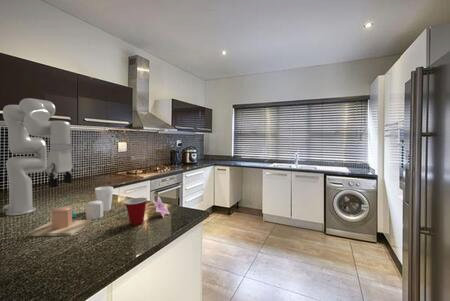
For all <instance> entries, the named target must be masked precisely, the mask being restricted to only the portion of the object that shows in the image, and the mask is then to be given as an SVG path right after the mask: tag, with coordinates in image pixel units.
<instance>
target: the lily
mask: <svg viewBox="0 0 450 301" xmlns="http://www.w3.org/2000/svg"><path fill="white" fill-rule="evenodd" d="M152 202H153V204H154V205H155V207H156V208H155V212H154V213H153V214H152V216H155V214H156V213H160V214H161V216H162V218H163V219H164V218H165V214H167V215H170V212H169V210H168V208H166V203H163V202H162V199H161V197H160V196H157V201H156V200H152Z"/></svg>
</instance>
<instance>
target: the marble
mask: <svg viewBox="0 0 450 301" xmlns="http://www.w3.org/2000/svg"><path fill="white" fill-rule="evenodd" d="M75 217H77V212H76V211H73V210H72V219H73V218H75Z"/></svg>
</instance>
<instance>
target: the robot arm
mask: <svg viewBox="0 0 450 301" xmlns="http://www.w3.org/2000/svg"><path fill="white" fill-rule="evenodd" d="M55 113H56V106H55V104H54V103H53V102H52V101H49V100H46V99H45V100H44V99H37V98H30V97H29V98H22V99H21V100H20V101H19V104H8V105H7V104H6V105H4V107H3V109H2V117H3V120H4V122H5V125H6V126H7V132H8V134H7V135H8V149H9V151H10V153H11V154H15V155H21V156H13V157H12V156H11V157H9V158H8V159H7V160H6V161H5V168H6V171H7V176H8V197H9V198H8V199H9V200H8V202H9V203H8V204H5V205H4V206H3V207H2V209H3V210H7V211H6V212H5V216H10V217H11V216H12V217H13V216H20V215H25V214H26V215H27V214H31V213H33V212H35V211H37V208H36V207H34V206H33V181H32V178H31V177H30V176H29V175H28V174H30V173H38V172H39V173H40V172H44V171H45V173H46V176H47V178H48V185H49V186H48V187H49V188H58V186H59V183H58V181H59V180H58V175H59V174H63V173H64V174H63V180H64V184H72V183H73V171H74V167H75V165H74V164H73V160H72V153H71V150H72V149H71V148H72V147H71V143H72V142H71V139H72V138H71V123H70V122H69V121H66V120H50V118H52V117H53V116H54V115H55ZM30 135H31V136H32V137H31V136H30ZM41 137H42V138H41ZM43 137H45V138H49V152H48V151H47V150H48V149H47V148H48V147H47V143H46V141H45V139H44V138H43ZM47 152H48V154H47ZM26 154H27V155H26ZM28 154H31V155H28ZM32 154H33V156H32ZM22 155H23V156H22ZM24 155H25V156H24Z"/></svg>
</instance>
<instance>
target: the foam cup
mask: <svg viewBox="0 0 450 301" xmlns="http://www.w3.org/2000/svg"><path fill="white" fill-rule="evenodd" d="M113 192H114V187H113V186H99V187H95V188H94V193H95V198H96V200H95V201H102V203H103V212H107V211H109V210H110V211H111V207H112V200H113Z"/></svg>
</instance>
